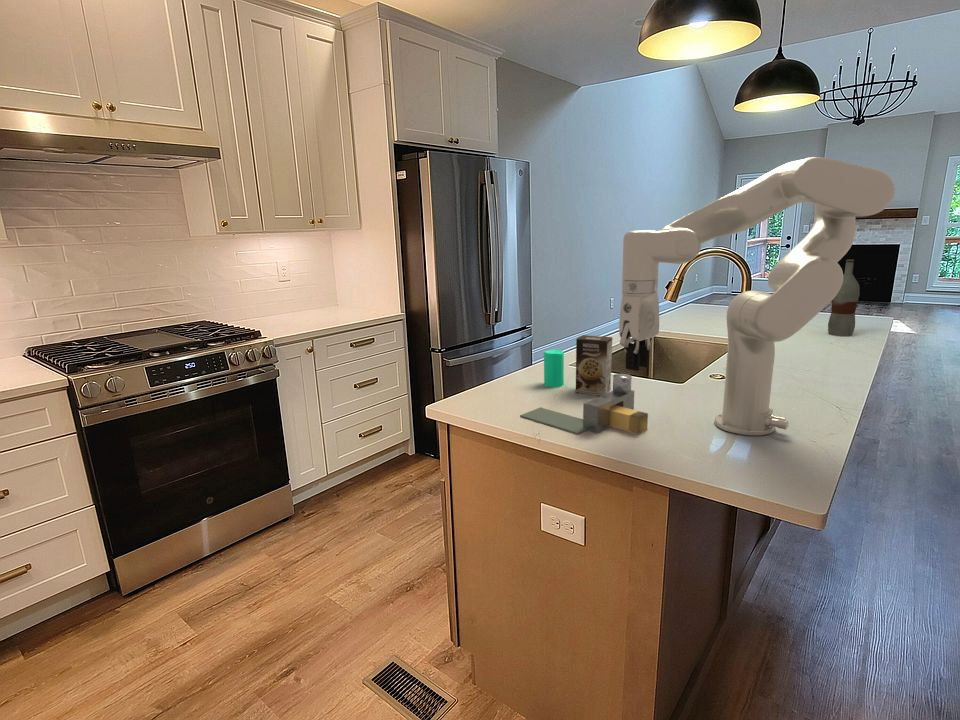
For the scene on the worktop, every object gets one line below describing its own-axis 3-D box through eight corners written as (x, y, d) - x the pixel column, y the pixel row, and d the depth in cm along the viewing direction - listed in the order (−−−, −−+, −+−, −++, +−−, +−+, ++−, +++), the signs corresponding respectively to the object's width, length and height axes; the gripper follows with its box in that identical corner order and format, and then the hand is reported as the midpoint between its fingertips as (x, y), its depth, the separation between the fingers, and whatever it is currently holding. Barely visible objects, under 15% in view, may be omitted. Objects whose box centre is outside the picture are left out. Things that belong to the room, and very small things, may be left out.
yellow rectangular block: (647, 429, 122) (647, 413, 121) (637, 434, 119) (638, 417, 118) (594, 414, 133) (594, 399, 132) (584, 418, 130) (585, 403, 129)
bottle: (822, 332, 216) (831, 259, 209) (846, 332, 215) (856, 258, 207) (833, 336, 207) (843, 260, 200) (858, 336, 206) (869, 260, 198)
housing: (634, 415, 131) (635, 375, 128) (598, 433, 120) (598, 390, 118) (618, 411, 134) (620, 372, 132) (582, 428, 124) (582, 386, 121)
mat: (597, 424, 126) (597, 423, 126) (577, 434, 120) (577, 432, 120) (540, 408, 138) (540, 407, 138) (520, 416, 133) (520, 415, 133)
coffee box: (574, 392, 151) (575, 338, 147) (581, 386, 156) (581, 334, 152) (605, 396, 146) (607, 340, 142) (611, 389, 152) (612, 336, 148)
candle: (548, 388, 156) (548, 349, 153) (541, 383, 161) (540, 345, 158) (566, 386, 157) (566, 347, 154) (558, 381, 163) (558, 343, 160)
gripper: (635, 292, 106) (632, 378, 111) (673, 284, 117) (669, 363, 121) (604, 290, 111) (602, 372, 116) (643, 283, 122) (640, 358, 127)
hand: (636, 367), depth 119 cm, fingers open, 3 cm apart
